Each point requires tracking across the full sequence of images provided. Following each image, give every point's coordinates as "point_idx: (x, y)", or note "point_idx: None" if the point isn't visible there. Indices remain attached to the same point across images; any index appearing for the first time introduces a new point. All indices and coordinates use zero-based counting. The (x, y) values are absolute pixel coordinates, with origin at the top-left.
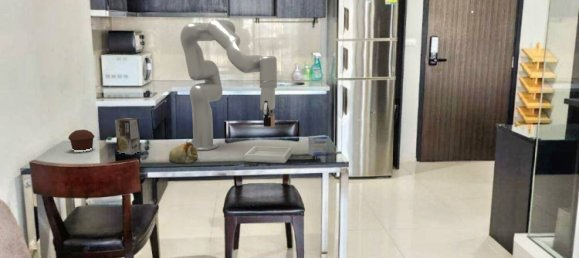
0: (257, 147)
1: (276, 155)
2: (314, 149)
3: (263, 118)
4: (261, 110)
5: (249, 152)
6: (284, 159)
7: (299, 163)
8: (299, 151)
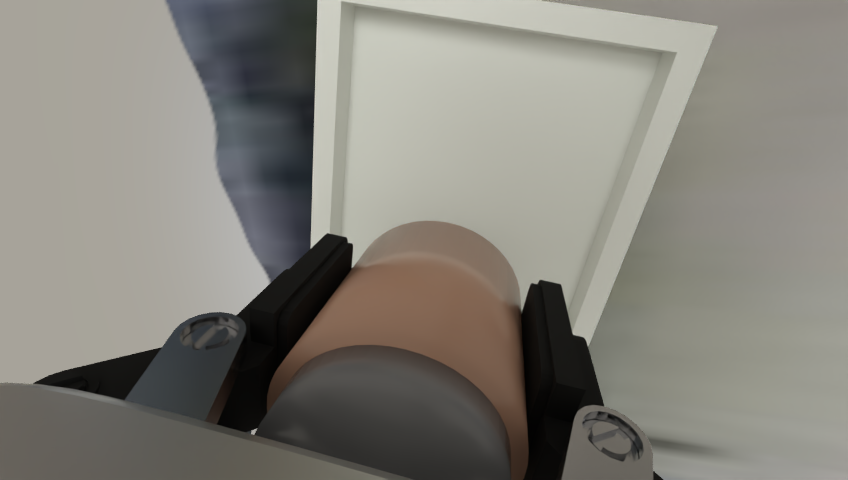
0: (668, 66)
1: None
2: None
3: (383, 286)
4: (28, 392)
5: (408, 10)
6: None
7: None
8: (650, 373)
